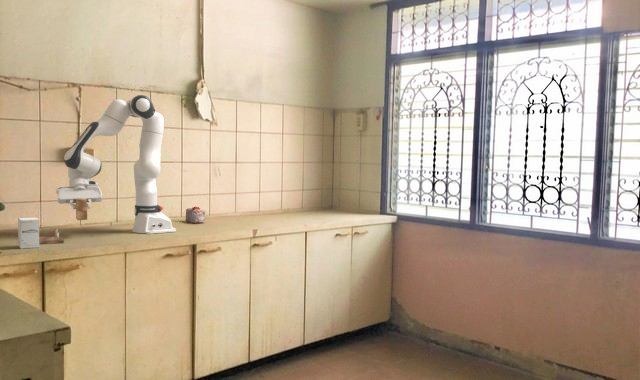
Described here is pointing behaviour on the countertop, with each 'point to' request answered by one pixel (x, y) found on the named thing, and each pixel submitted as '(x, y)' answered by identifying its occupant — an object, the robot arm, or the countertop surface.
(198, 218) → the food item
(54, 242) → the peg stand
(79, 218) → the brown rectangular block
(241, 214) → the countertop surface
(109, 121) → the robot arm
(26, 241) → the supplement box
